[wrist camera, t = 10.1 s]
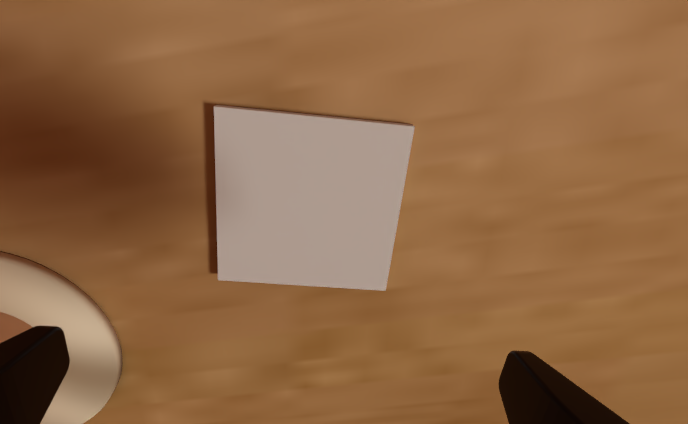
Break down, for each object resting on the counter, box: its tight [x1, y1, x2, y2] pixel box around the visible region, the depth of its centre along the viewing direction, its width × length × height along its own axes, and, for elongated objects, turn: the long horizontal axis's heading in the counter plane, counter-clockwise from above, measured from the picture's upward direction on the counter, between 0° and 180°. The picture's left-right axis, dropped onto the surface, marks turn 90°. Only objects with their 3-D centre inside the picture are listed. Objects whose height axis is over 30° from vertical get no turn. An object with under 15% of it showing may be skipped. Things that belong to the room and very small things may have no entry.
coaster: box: [0, 252, 122, 424], centre depth 17 cm, size 10×10×1 cm
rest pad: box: [214, 105, 415, 291], centre depth 15 cm, size 7×7×1 cm
